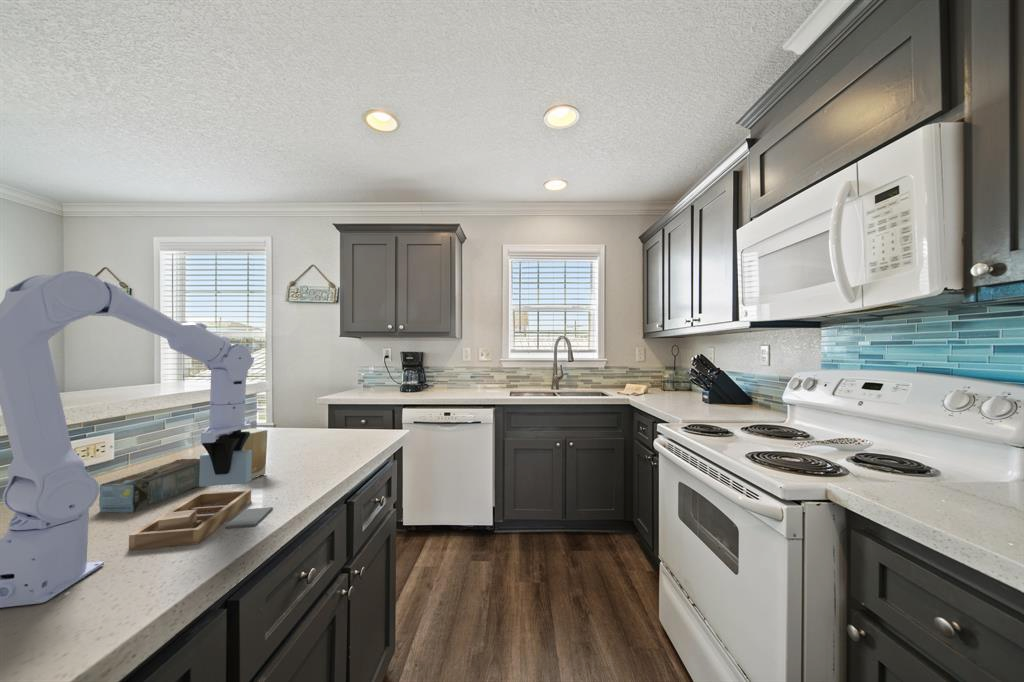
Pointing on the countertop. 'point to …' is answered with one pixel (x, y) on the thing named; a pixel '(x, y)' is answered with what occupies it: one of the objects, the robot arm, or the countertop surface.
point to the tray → (235, 501)
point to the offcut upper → (177, 520)
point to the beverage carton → (149, 486)
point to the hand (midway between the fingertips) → (226, 471)
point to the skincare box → (257, 450)
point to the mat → (249, 517)
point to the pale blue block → (236, 475)
